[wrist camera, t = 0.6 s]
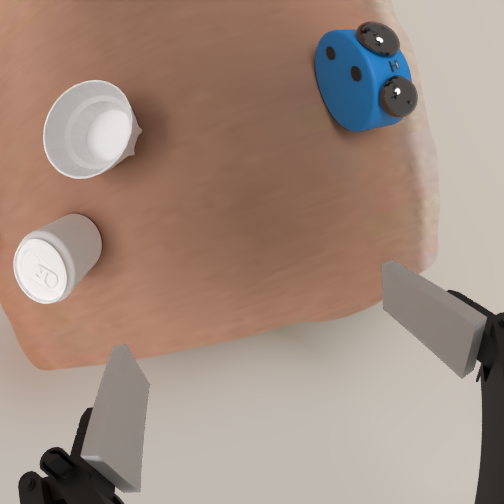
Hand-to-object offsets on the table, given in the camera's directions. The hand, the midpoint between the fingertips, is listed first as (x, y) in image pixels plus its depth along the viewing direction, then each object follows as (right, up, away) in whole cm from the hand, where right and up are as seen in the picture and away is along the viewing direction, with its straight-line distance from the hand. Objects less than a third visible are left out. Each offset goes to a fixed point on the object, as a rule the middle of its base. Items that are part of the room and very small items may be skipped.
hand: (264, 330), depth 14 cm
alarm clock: (+11, +27, +22) cm, 36 cm away
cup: (-18, +19, +19) cm, 32 cm away
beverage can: (-25, +5, +22) cm, 33 cm away
